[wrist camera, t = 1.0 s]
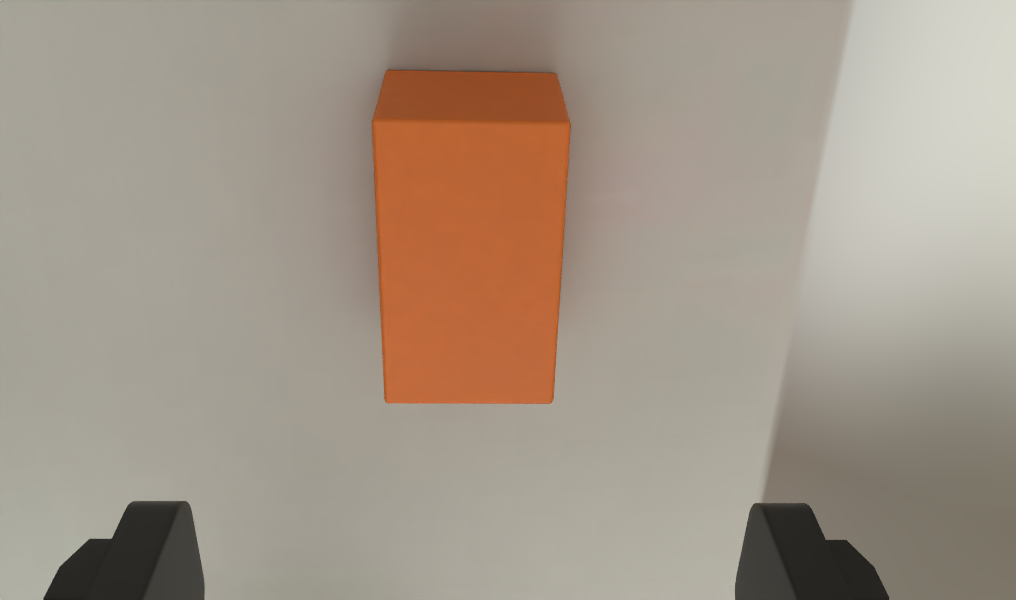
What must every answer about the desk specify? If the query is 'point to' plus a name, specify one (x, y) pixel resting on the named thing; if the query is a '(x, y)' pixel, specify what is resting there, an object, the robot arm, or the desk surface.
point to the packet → (470, 234)
